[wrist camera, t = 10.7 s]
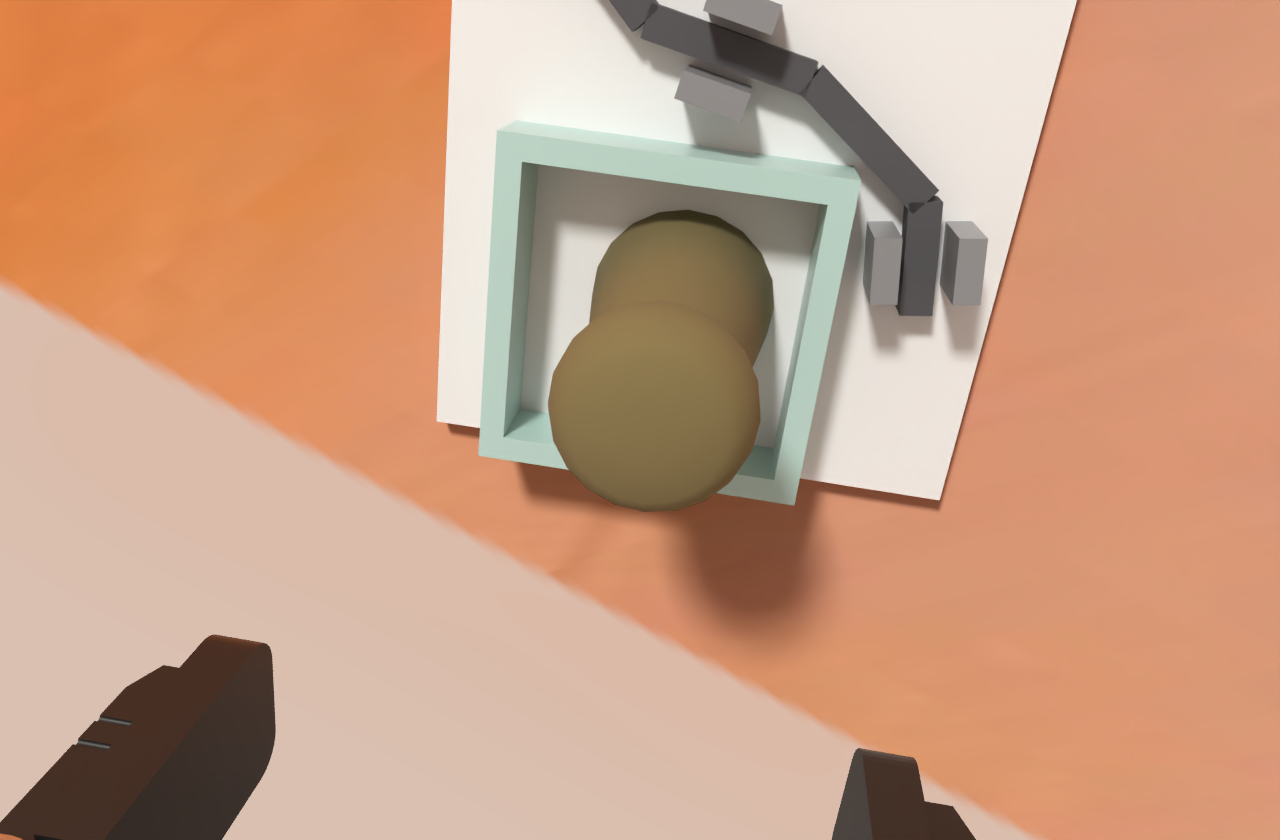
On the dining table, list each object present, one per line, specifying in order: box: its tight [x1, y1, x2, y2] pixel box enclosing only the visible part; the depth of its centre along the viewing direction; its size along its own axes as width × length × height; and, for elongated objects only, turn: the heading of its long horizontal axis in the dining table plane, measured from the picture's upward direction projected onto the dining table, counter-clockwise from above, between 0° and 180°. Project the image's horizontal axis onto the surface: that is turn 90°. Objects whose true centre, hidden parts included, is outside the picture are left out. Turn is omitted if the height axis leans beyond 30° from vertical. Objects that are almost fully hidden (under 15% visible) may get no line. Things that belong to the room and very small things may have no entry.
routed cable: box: [609, 0, 943, 316], centre depth 29 cm, size 17×3×1 cm, turn 46°
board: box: [437, 0, 1077, 500], centre depth 30 cm, size 18×19×3 cm
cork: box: [548, 210, 774, 512], centre depth 28 cm, size 6×6×11 cm
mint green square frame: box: [478, 120, 861, 506], centre depth 32 cm, size 11×11×2 cm
